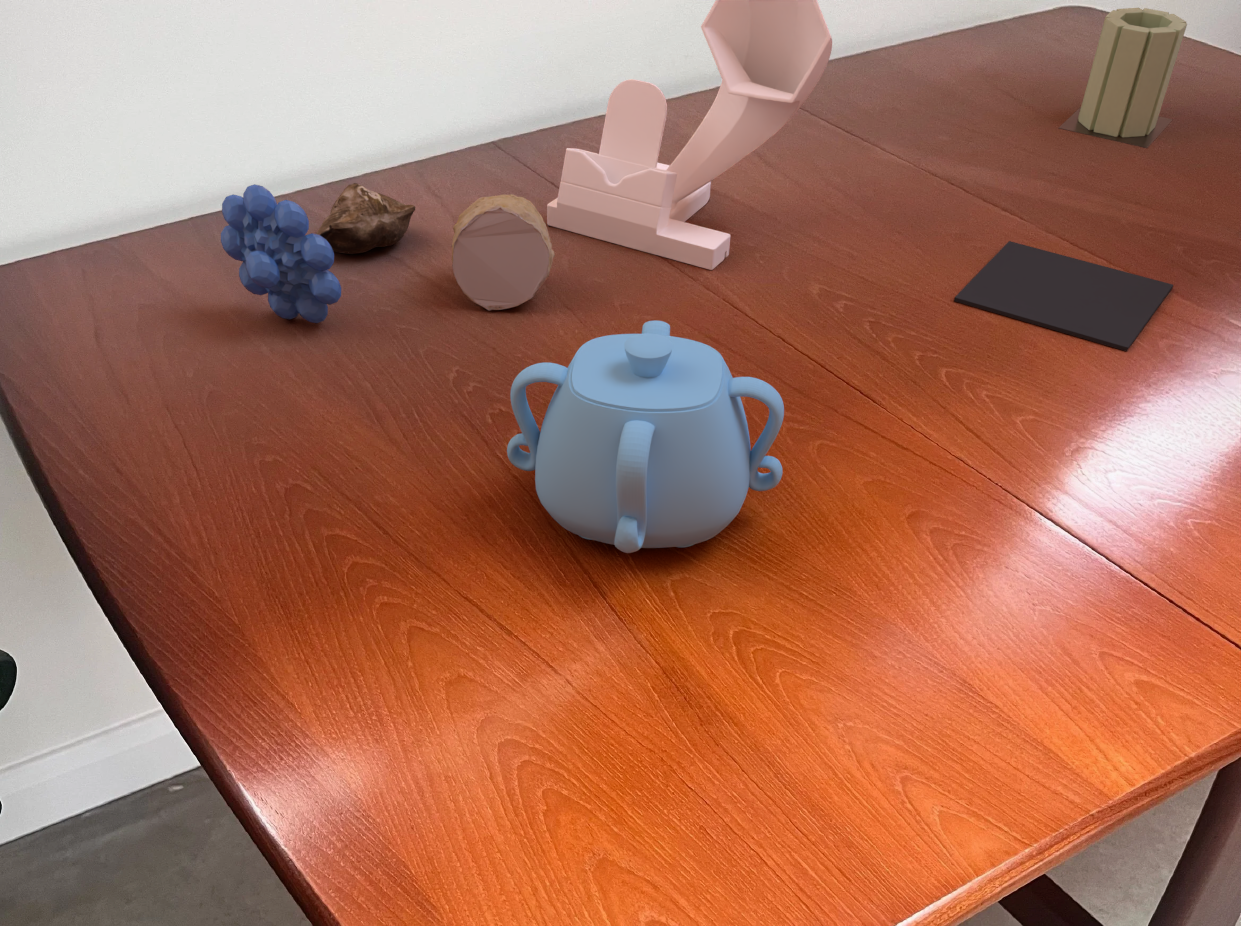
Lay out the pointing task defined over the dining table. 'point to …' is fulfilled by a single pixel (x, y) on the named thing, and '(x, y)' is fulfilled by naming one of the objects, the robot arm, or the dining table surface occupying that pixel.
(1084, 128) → the stand
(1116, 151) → the dining table surface
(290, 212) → the grapes
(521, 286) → the bark-rimmed wood disc
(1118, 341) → the mat
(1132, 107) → the fluted octagonal tube
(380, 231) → the fossilized seashell
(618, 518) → the decorative pot
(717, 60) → the phone horn amplifier
